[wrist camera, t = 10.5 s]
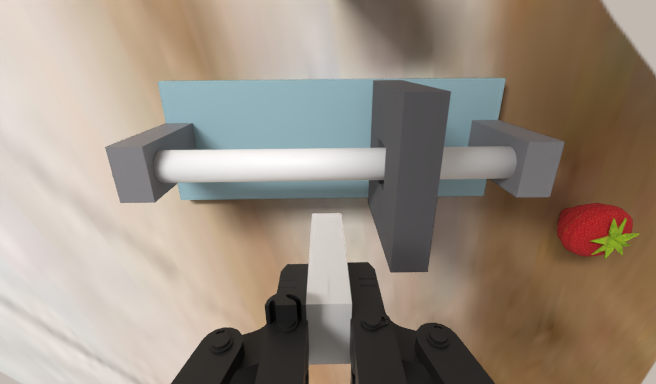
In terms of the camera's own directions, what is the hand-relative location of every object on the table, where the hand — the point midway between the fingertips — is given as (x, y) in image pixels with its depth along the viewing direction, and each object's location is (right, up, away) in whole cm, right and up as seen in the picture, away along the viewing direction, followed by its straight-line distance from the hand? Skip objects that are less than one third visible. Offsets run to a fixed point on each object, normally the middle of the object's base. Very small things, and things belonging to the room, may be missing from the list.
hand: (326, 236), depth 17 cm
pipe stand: (+1, +9, +22) cm, 24 cm away
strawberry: (+32, 0, +27) cm, 41 cm away
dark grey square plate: (+6, +8, +20) cm, 22 cm away
